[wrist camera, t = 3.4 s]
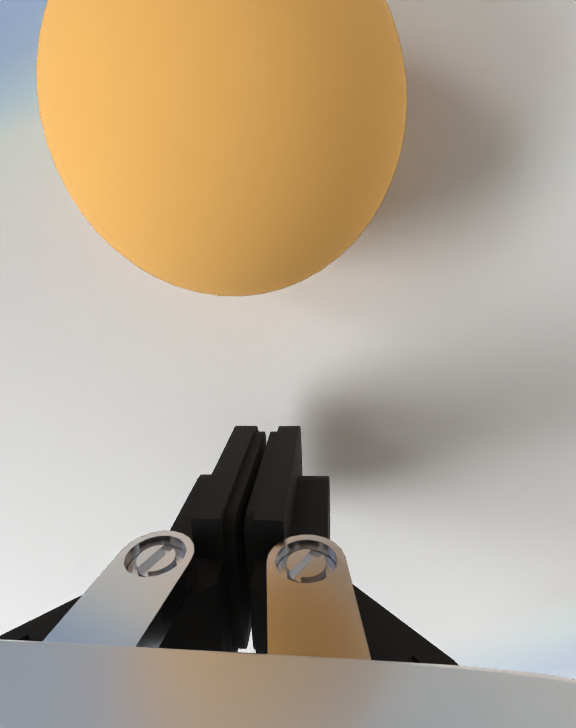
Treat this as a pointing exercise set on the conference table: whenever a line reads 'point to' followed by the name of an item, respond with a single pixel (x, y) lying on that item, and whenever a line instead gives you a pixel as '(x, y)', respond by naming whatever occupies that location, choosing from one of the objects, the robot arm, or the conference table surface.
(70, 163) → the ball
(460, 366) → the conference table surface
